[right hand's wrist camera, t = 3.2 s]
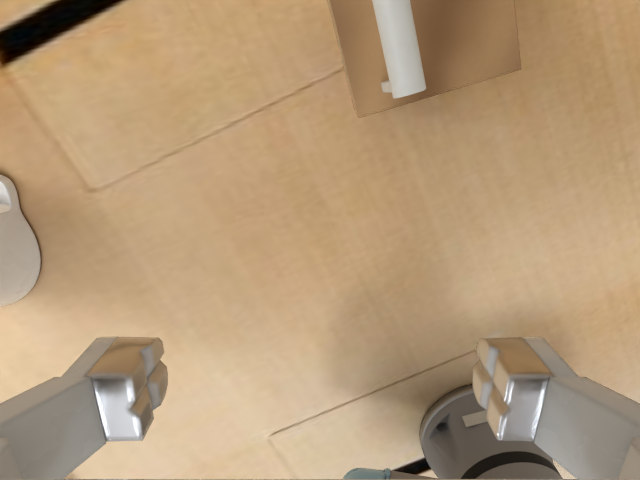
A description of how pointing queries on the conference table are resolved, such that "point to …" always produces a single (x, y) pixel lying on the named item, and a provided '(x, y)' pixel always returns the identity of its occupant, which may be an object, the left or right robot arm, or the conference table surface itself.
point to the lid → (422, 47)
